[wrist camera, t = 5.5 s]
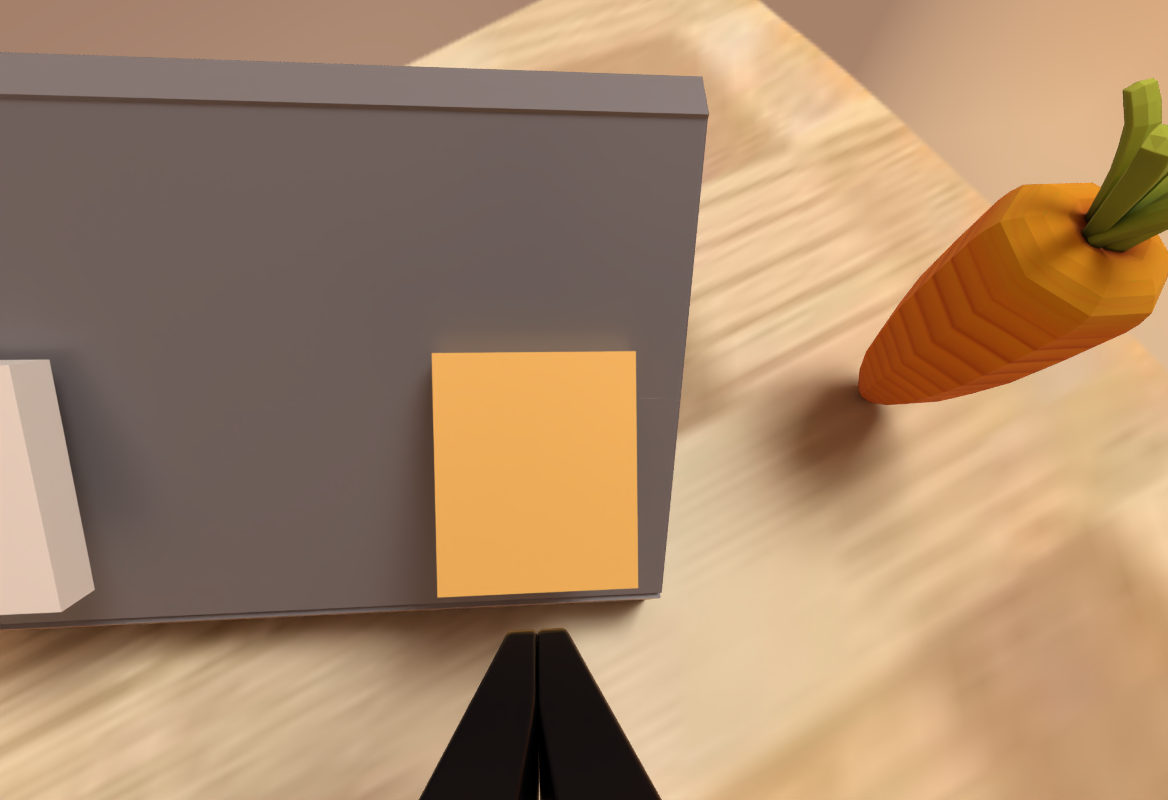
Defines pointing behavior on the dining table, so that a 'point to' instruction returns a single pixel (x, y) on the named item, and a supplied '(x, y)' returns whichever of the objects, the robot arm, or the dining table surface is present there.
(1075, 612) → the dining table surface
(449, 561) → the block
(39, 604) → the block
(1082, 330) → the carrot
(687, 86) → the switch console
